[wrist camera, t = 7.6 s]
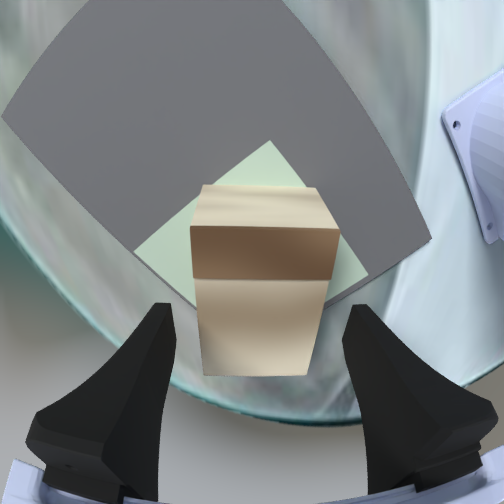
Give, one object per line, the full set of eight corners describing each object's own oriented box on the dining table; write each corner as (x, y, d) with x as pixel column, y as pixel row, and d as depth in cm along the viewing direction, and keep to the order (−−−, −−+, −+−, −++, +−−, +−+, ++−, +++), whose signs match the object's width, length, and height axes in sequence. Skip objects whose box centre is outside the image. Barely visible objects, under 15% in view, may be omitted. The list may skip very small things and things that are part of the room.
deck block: (296, 320, 18) (306, 377, 15) (208, 319, 18) (203, 378, 15) (315, 187, 14) (340, 231, 11) (203, 184, 14) (189, 228, 10)
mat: (428, 234, 16) (432, 239, 16) (248, 346, 20) (248, 353, 20) (193, -77, 8) (192, -82, 7) (6, 114, 12) (0, 116, 11)
